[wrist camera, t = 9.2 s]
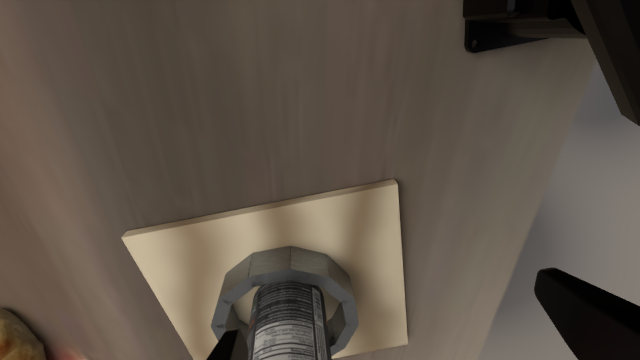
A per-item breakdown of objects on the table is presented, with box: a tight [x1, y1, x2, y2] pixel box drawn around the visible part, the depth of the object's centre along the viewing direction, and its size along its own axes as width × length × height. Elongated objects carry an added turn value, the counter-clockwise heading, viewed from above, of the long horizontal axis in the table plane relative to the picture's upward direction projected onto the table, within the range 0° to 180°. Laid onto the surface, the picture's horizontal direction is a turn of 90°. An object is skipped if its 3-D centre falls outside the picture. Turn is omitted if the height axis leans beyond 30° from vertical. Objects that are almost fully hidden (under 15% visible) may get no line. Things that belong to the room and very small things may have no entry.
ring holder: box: [122, 179, 408, 360], centre depth 24 cm, size 20×18×3 cm
